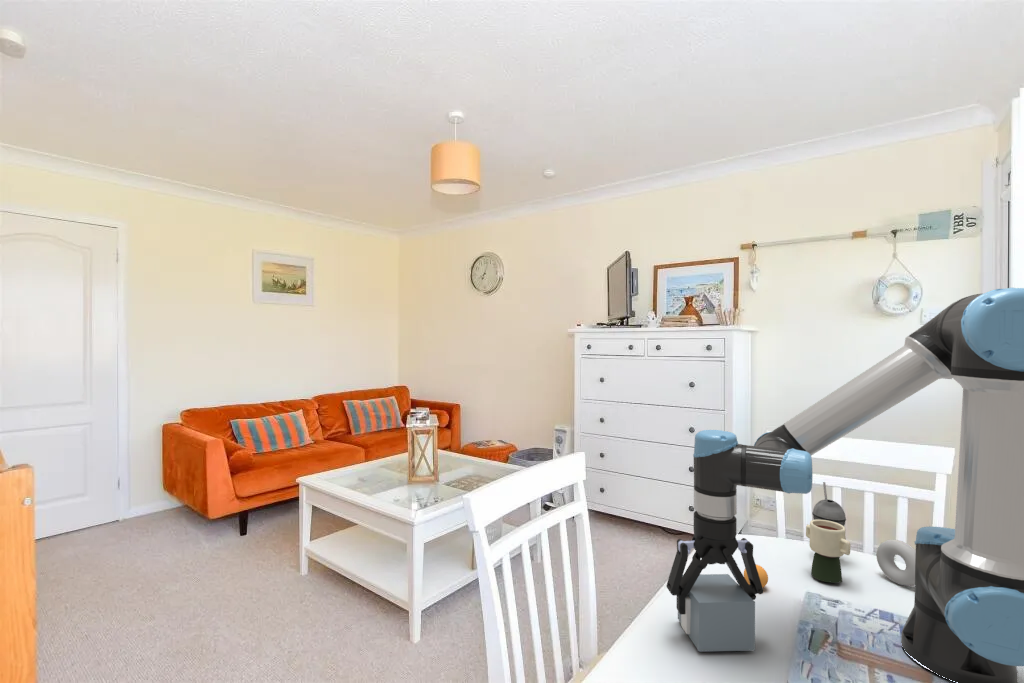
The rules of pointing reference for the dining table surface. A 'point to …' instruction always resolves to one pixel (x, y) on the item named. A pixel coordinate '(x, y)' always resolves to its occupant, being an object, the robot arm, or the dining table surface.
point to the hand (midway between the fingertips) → (714, 629)
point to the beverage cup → (829, 510)
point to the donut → (888, 565)
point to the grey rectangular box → (721, 615)
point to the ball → (762, 575)
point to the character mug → (827, 549)
